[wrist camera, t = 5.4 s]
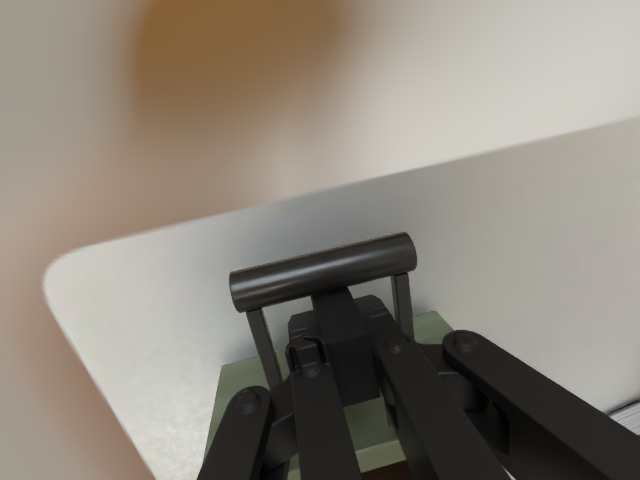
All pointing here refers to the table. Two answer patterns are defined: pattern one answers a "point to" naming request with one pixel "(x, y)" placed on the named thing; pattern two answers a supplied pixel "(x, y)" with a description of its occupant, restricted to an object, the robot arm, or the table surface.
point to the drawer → (314, 278)
